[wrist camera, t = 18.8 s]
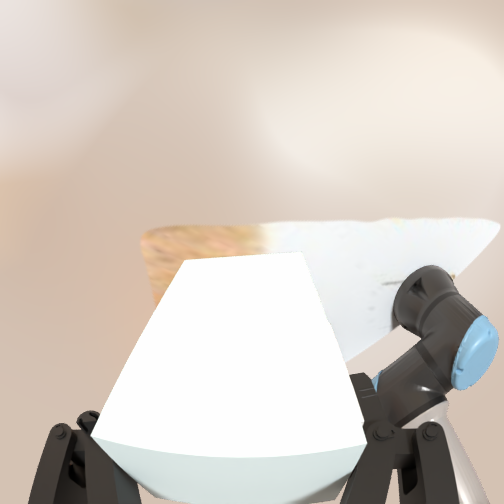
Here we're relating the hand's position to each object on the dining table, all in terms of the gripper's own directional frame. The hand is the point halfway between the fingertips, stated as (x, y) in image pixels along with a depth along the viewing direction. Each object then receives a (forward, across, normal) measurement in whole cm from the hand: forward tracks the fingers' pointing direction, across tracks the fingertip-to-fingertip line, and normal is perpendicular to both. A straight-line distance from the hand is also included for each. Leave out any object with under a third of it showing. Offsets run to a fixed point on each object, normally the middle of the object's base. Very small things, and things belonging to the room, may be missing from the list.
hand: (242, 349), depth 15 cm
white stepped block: (+6, 0, -8) cm, 10 cm away
